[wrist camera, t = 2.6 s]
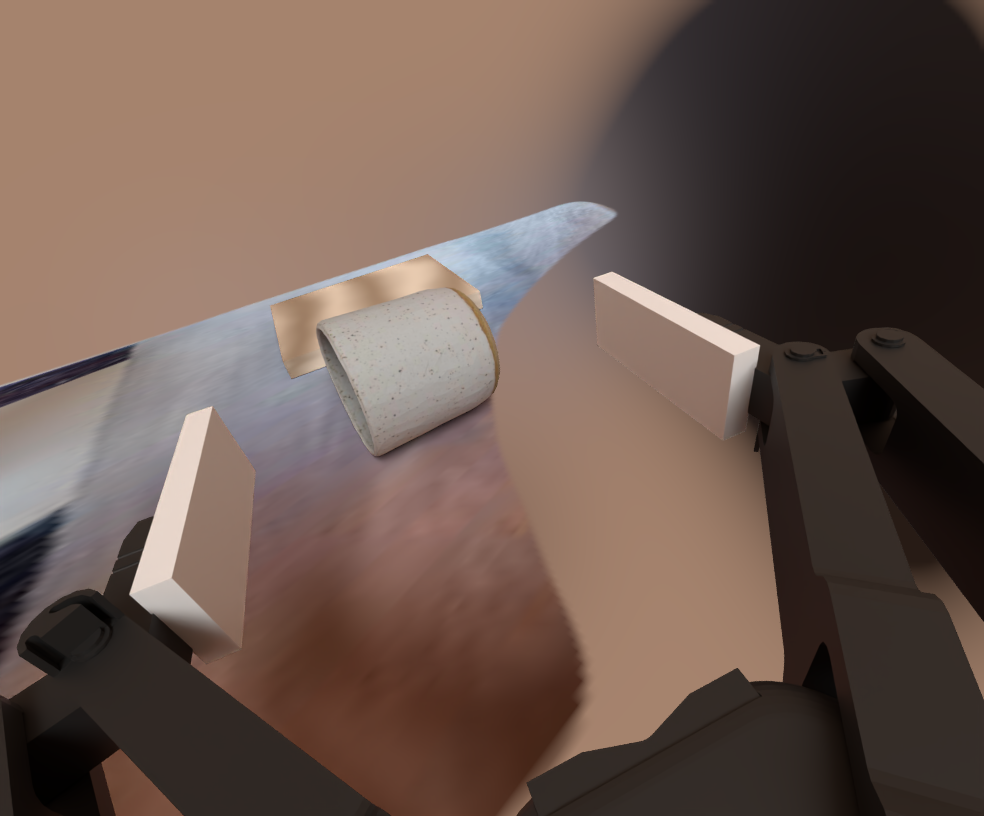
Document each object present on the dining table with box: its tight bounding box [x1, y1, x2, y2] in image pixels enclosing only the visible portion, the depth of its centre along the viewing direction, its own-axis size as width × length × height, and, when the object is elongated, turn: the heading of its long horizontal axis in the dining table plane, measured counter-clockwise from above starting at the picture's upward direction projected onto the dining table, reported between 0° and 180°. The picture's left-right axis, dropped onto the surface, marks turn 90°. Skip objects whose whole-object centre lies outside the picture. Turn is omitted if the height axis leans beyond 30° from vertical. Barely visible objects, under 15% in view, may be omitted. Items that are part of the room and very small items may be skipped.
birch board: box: [270, 254, 483, 379], centre depth 42 cm, size 16×13×2 cm
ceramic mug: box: [316, 287, 500, 456], centre depth 28 cm, size 11×8×8 cm
